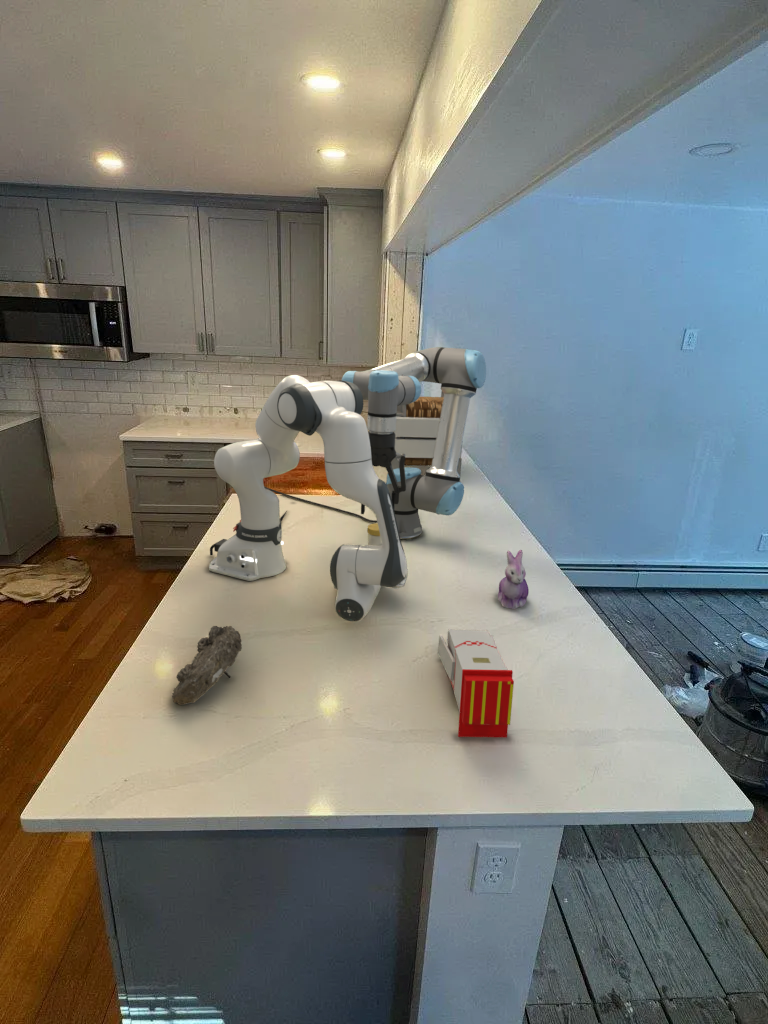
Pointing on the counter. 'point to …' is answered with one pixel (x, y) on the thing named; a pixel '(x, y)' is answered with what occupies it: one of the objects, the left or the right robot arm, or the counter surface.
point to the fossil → (207, 664)
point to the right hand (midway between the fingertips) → (377, 513)
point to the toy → (478, 682)
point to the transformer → (418, 431)
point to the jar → (374, 540)
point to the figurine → (513, 583)
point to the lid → (373, 529)
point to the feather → (282, 516)
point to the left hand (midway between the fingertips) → (376, 560)
